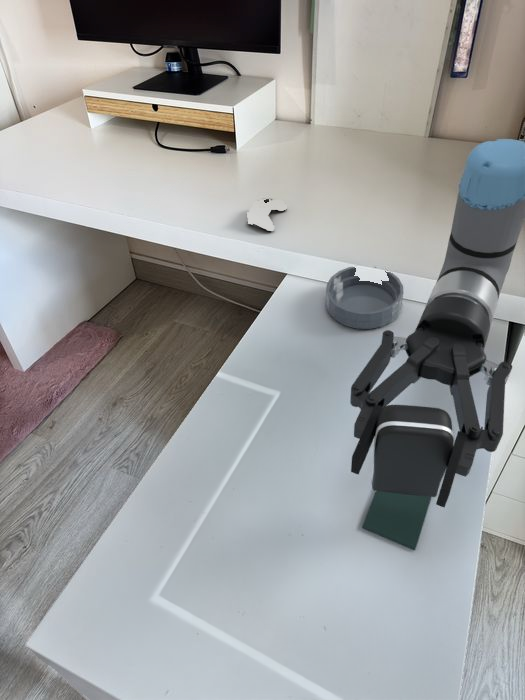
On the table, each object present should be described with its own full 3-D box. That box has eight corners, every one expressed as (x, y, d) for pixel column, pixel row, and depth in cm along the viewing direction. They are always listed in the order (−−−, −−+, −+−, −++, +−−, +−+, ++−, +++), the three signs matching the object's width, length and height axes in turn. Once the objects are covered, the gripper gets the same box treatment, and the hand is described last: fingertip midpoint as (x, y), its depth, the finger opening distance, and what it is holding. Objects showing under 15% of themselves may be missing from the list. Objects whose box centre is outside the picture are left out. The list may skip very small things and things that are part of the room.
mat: (433, 489, 59) (434, 487, 59) (415, 550, 55) (415, 549, 54) (384, 470, 62) (384, 469, 61) (361, 528, 57) (362, 526, 57)
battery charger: (436, 467, 54) (455, 401, 46) (438, 499, 52) (459, 436, 43) (370, 460, 55) (377, 395, 47) (369, 491, 53) (376, 429, 45)
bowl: (410, 291, 84) (412, 274, 81) (387, 338, 77) (389, 321, 74) (342, 275, 88) (342, 259, 86) (315, 319, 81) (314, 302, 79)
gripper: (541, 365, 57) (506, 546, 44) (370, 320, 65) (296, 463, 52) (563, 317, 52) (531, 506, 39) (374, 274, 60) (293, 420, 46)
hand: (397, 481), depth 45 cm, fingers closed on battery charger, 7 cm apart
